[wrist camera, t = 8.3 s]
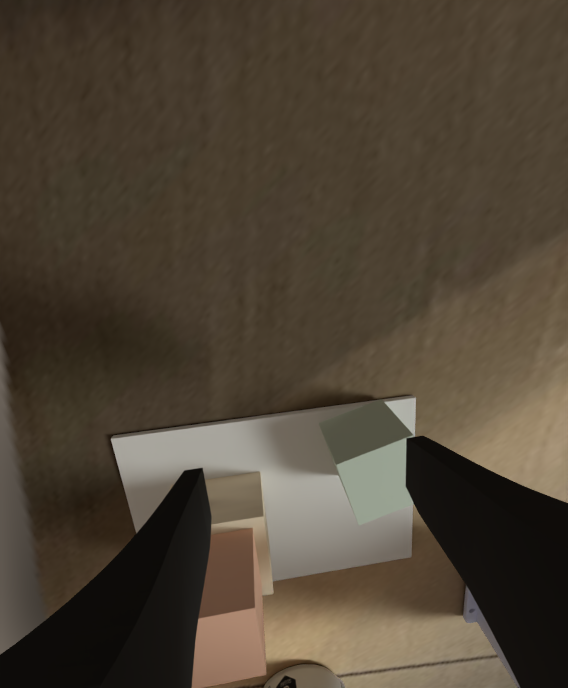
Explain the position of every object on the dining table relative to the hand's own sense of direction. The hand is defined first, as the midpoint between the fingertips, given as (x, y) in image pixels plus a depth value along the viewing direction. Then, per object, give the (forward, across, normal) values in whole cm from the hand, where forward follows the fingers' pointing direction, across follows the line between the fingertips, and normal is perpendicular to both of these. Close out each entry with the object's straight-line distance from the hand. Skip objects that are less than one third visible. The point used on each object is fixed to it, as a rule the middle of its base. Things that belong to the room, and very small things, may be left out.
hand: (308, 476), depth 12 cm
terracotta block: (+6, +5, +10) cm, 13 cm away
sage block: (+10, -5, +6) cm, 12 cm away
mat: (+10, +1, +10) cm, 14 cm away
